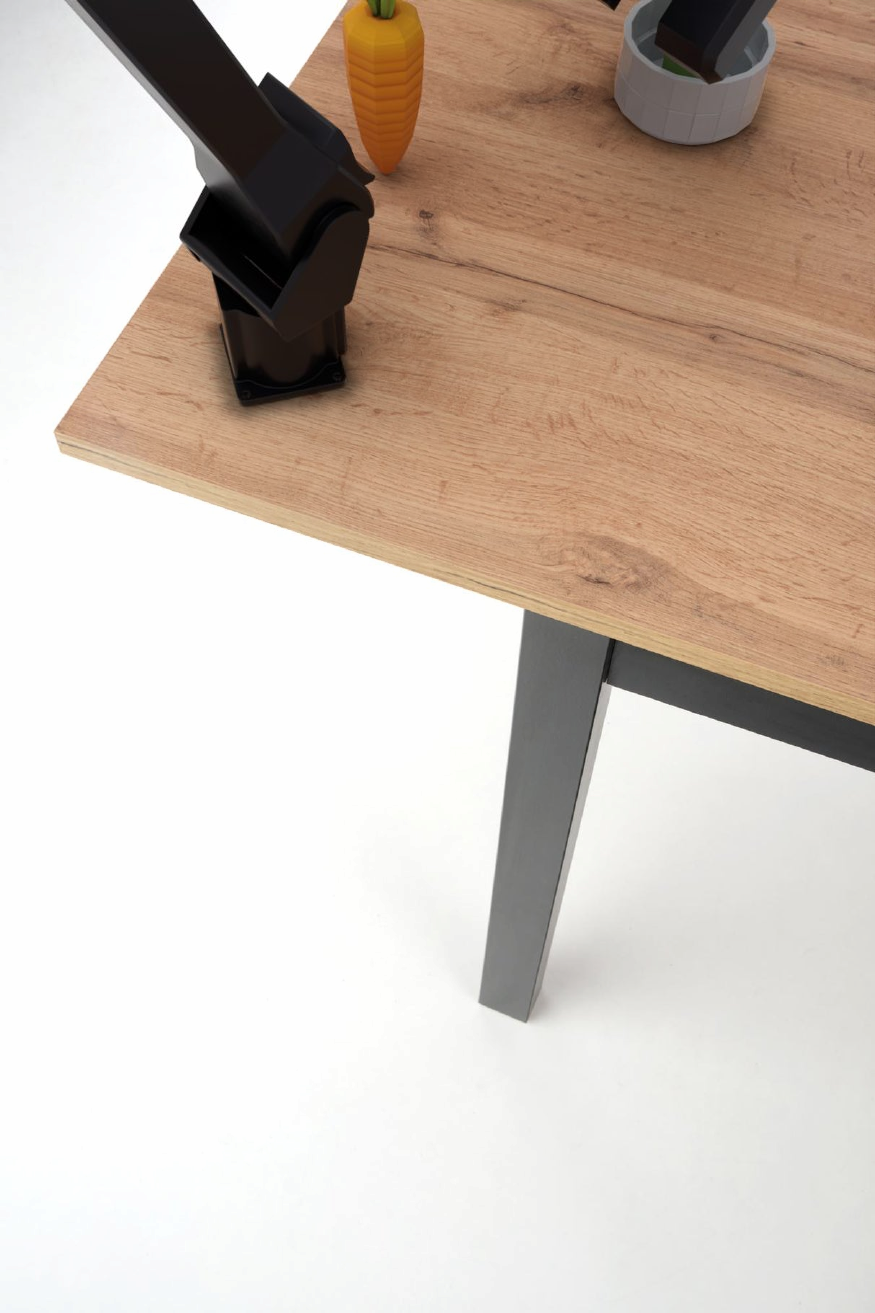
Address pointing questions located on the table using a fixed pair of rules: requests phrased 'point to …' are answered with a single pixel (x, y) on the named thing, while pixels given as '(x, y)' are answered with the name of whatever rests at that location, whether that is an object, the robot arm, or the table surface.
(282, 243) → the robot arm
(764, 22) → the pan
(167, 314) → the table surface
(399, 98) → the carrot
